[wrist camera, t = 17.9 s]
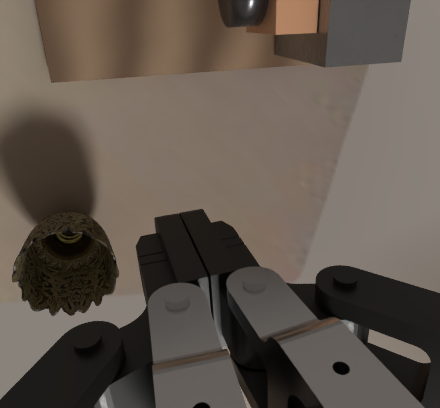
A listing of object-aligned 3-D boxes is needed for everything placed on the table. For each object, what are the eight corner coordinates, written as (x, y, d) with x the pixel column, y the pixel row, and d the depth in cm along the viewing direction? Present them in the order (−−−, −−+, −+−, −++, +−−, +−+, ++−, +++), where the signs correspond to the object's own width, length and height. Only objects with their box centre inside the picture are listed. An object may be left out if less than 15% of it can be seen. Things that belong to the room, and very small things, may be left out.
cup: (13, 199, 35) (-3, 246, 28) (101, 182, 37) (106, 222, 30) (39, 270, 39) (30, 328, 32) (118, 252, 40) (126, 302, 33)
